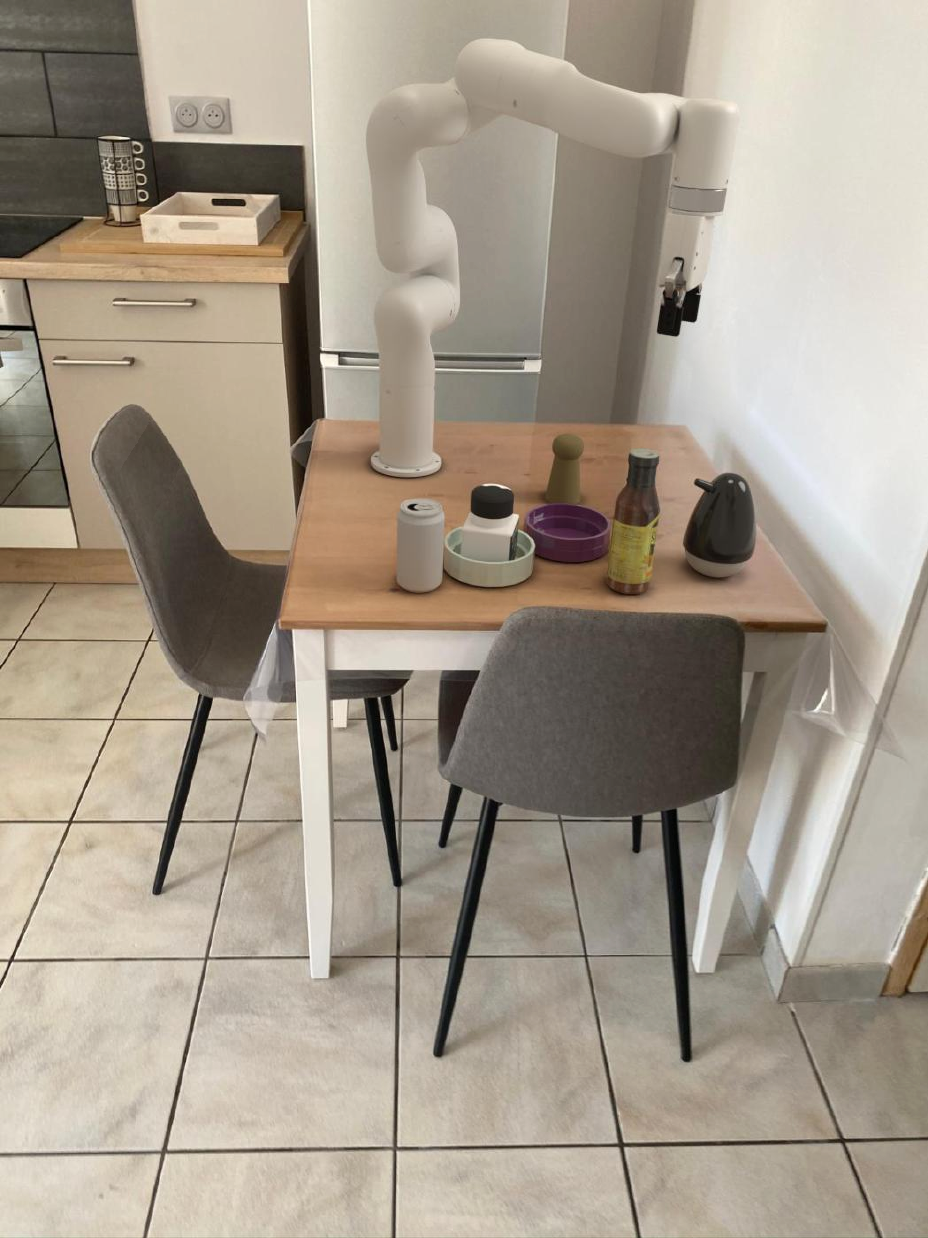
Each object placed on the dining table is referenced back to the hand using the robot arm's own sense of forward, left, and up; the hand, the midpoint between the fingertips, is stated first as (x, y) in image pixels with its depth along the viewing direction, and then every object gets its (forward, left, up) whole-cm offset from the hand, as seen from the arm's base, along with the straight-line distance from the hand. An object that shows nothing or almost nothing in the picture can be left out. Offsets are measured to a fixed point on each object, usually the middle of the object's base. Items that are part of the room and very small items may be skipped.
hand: (676, 327), depth 140 cm
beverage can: (+8, -43, -31) cm, 53 cm away
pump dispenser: (+17, 0, -31) cm, 36 cm away
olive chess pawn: (-13, -9, -31) cm, 35 cm away
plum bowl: (+3, -17, -31) cm, 35 cm away
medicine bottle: (+6, -31, -31) cm, 44 cm away
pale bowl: (+6, -31, -31) cm, 44 cm away
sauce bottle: (+17, -15, -31) cm, 39 cm away
